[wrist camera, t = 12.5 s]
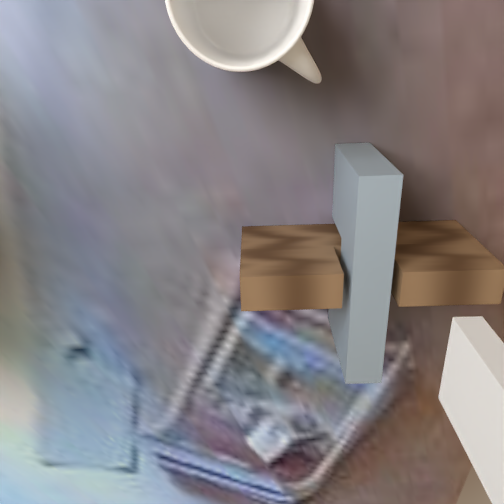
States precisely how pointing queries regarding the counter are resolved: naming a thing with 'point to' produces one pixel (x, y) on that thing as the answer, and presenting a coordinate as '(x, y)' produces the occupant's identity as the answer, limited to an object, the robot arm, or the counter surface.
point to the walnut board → (332, 277)
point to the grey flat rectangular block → (364, 256)
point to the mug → (246, 33)
